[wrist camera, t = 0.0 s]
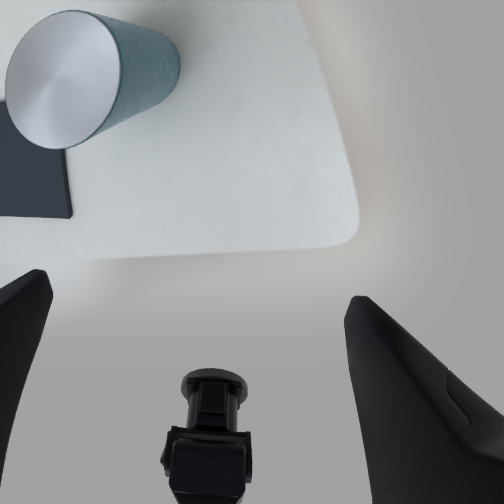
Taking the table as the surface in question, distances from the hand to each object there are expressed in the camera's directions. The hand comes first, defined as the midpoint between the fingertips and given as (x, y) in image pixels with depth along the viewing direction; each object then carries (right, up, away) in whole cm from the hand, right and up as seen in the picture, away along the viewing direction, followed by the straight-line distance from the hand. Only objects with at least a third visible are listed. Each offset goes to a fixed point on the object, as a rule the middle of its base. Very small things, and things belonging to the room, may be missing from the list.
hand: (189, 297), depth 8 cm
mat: (-17, +9, +11) cm, 22 cm away
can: (-6, +13, +9) cm, 16 cm away
